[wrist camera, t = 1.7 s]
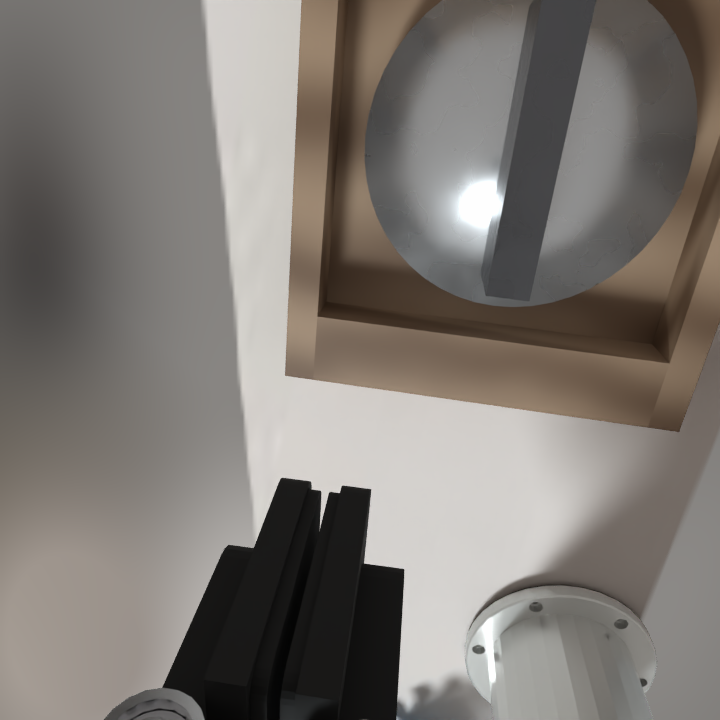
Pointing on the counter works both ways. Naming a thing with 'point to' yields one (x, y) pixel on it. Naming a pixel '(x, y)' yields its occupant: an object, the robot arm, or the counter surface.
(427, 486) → the counter surface
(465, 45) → the dial
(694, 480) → the counter surface
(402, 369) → the dial panel
